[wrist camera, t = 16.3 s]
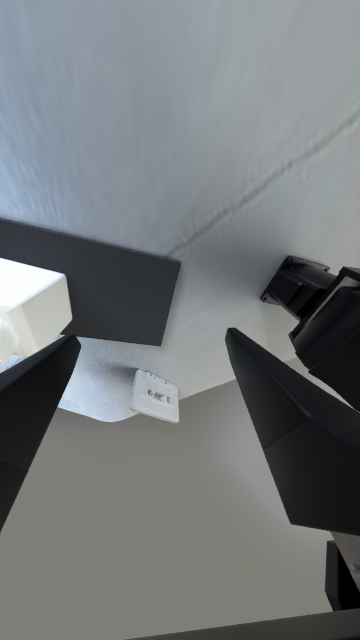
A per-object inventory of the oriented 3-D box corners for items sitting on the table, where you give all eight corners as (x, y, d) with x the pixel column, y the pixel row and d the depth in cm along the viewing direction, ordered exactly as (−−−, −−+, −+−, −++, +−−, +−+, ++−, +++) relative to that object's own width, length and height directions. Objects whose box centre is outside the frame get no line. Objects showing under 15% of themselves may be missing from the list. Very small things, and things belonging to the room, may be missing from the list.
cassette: (179, 386, 36) (181, 421, 30) (173, 388, 37) (174, 424, 31) (139, 367, 30) (132, 406, 24) (134, 371, 31) (126, 410, 25)
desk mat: (180, 261, 18) (180, 262, 17) (160, 344, 26) (160, 346, 26) (-48, 206, 13) (-56, 206, 13) (19, 326, 22) (15, 329, 22)
